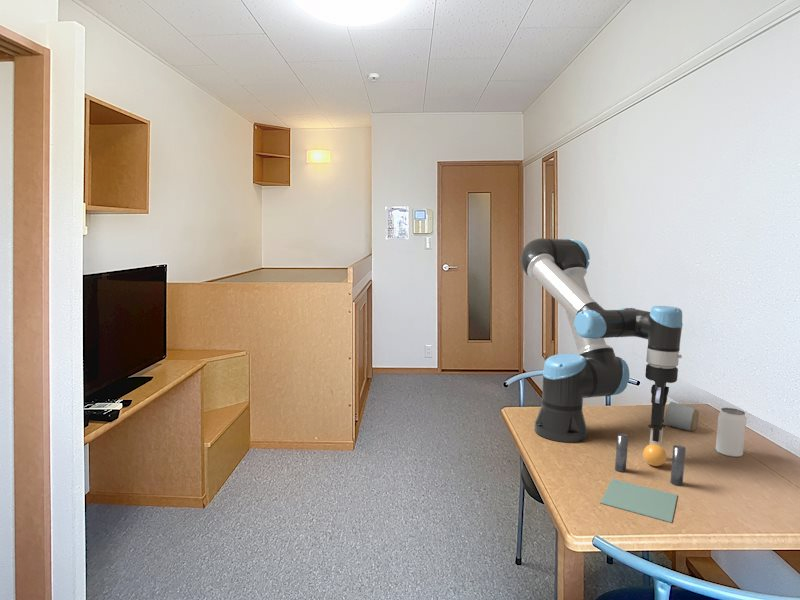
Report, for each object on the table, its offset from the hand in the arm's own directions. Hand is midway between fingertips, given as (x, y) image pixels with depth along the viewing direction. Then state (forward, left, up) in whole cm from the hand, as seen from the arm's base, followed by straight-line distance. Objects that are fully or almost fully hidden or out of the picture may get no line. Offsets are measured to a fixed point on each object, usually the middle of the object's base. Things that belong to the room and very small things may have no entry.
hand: (654, 451), depth 138 cm
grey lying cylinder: (+4, +33, -2) cm, 33 cm away
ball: (0, -5, +1) cm, 5 cm away
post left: (-6, -13, -2) cm, 15 cm away
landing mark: (0, -27, -2) cm, 27 cm away
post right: (+6, -13, -2) cm, 15 cm away
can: (+17, +17, -2) cm, 24 cm away
